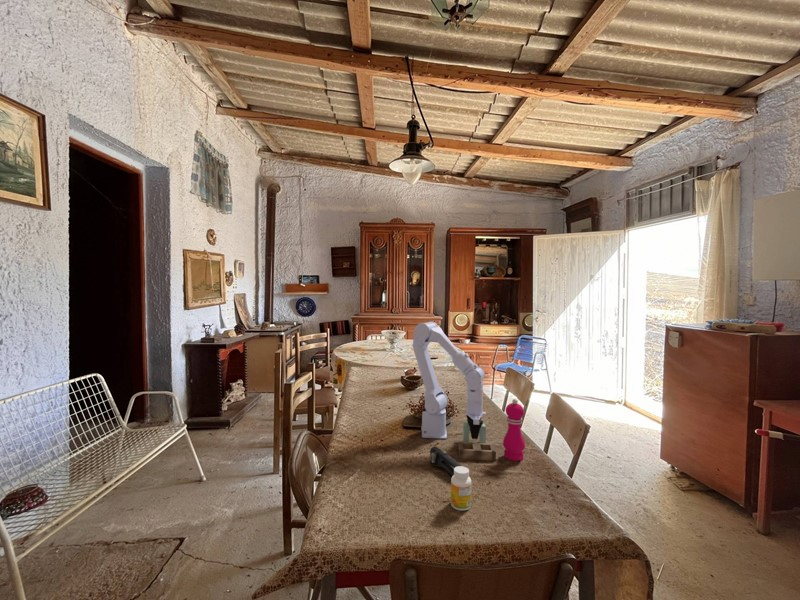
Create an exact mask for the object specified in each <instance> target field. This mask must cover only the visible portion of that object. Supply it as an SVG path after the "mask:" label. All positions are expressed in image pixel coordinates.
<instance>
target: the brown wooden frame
mask: <svg viewBox="0 0 800 600" xmlns="http://www.w3.org/2000/svg"><path fill="white" fill-rule="evenodd" d="M458 456H459V457H458V458H459V459H460V460H473V461H475V460H476V461H477V460H478V461H491V462H492V461H497V451H496V447H495V445H494V443H488V442H486V443H479V442H470V441H469V442H463V441H459V442H458Z"/></svg>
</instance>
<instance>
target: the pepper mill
mask: <svg viewBox="0 0 800 600" xmlns="http://www.w3.org/2000/svg"><path fill="white" fill-rule="evenodd" d="M518 402H519V401H518V400H517V399H516V398H515V399H512V402H511V403H509V404H507V405H506V406H505V414H506V422H507V424H508V427H507V431H506V434H505V436H504V438H503V441H502V445H503V447H504V451H503V452H504V454H503V455H504V457H505V459H507V460H510V461H513V462H518V461H519V460H520V461H522V460H523V459H524V452H523V451H525V448H526V442H525V438H524V437H523V434H522V431H521V425H522V424H523V416H524V415H525V409H524V407H523V406H522V404H519V403H518ZM520 461H519V462H520Z"/></svg>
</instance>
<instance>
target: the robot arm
mask: <svg viewBox="0 0 800 600" xmlns="http://www.w3.org/2000/svg"><path fill="white" fill-rule="evenodd" d="M412 334H413V340H412V348H413V353H414V356H415V358H416V362H417V366H418V369H419V372H420V375H421V379H422V382H423V385H424V388H425V391H424V394H423V398H424V408H425V411H422V412H421V413H422V414H421V426H420V427H421V429H420V430H421V438H423V439H424V438H426V439H443V440H446V439H448V435H447V431H448V430H447V426H446V425H447V411H446V407H447V406H448V405H449V398H448V396H447V394H446V393H445V392H444V389H443V388H442V386H440V384H439V381H438V378H437V375H436V372H435V369H434V366H433V362H432V359H431V355H430V353H429V350H428V346H429V344H430V343H431V342H433V343H437V344H439V345H440V347H442V349H444V351H445V352H446V353H448V355H449V356H450V357H451V361H452V364H453V365H454V366H455V367H456V368H457V369H458V370H459V371H460V372H461V374H462V375H463V376H464V380H465V382H466V384H467V387H466V411H465V414H466V416H465V417H466V421H467V422H466V423H468V424H469V426H470V431H469V433H470V437H471V440H479V431H480V428H481V426H482V424H483V423H484V420H482V417H483V416H486V415H487V412H486V411H483V409H484V408H483V407H484V406H483V404H484V403H483V402H484V401H483V399H484V382H483V381H484V380H485V378H486V373H485V371H484V369H483V367H481V366H478V364H477V363H474V361H473V360H472V359H471V358H470V357H469V356H470V355H469V354H468V352H467V353H465V352H464V351H460V350H458V348H457V347H456V346H455V344H454V343H452V342H451V340H450V339H449V337H448V336H447V335H446V334H445V332H444V331H443V329H442V327H440V326H439V325H438V324H437V323H436V322H434V321H427V322H424V323H423V322H421V323H418V324H417V325H416V326H415V328H414V329H413V332H412Z"/></svg>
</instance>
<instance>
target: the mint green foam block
mask: <svg viewBox="0 0 800 600" xmlns="http://www.w3.org/2000/svg"><path fill="white" fill-rule="evenodd" d="M486 433H487V426H486V423H484V422H483V424H482V426H481V428H480V431H479V436H478V443H487V442H486V441H487V440H486V439H487V436H486V435H487V434H486ZM462 442H469V443H470V426H469V424H468V422H462Z"/></svg>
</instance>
